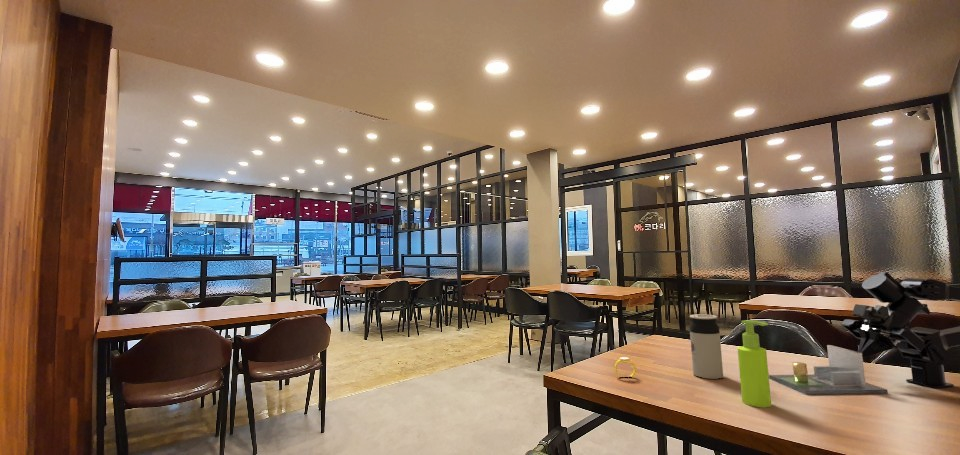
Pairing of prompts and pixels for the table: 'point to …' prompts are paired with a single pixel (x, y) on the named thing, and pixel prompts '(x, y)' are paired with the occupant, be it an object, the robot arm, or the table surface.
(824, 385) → the base
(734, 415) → the table surface
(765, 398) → the soap dispenser
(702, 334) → the travel mug
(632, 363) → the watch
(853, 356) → the grey bracket
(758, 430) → the table surface
